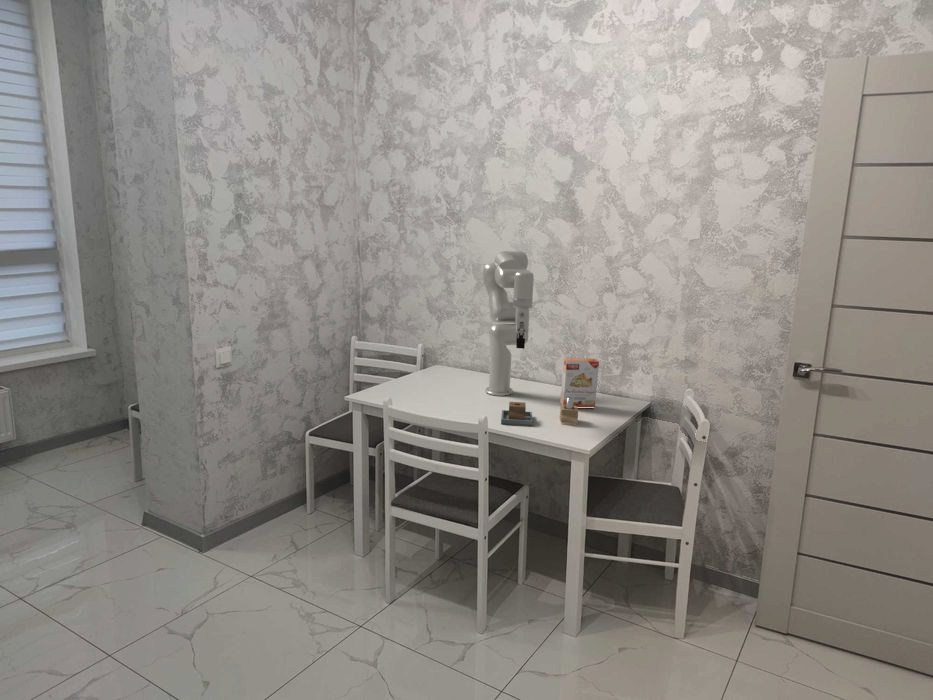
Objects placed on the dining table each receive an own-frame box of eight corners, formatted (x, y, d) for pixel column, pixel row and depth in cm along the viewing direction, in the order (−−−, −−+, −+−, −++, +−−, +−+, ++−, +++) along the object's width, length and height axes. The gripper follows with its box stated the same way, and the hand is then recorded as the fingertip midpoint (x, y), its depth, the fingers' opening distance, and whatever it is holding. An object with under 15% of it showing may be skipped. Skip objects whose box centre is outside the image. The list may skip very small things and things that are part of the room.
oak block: (559, 419, 257) (560, 404, 255) (575, 420, 256) (576, 405, 255) (560, 424, 250) (561, 409, 249) (577, 425, 250) (578, 410, 249)
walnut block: (508, 416, 256) (509, 401, 255) (524, 416, 256) (525, 402, 255) (508, 421, 250) (509, 406, 249) (524, 422, 250) (525, 407, 248)
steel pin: (565, 418, 254) (566, 396, 253) (571, 419, 254) (572, 397, 252) (565, 420, 252) (567, 398, 250) (571, 421, 252) (573, 399, 250)
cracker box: (563, 409, 270) (566, 360, 266) (559, 404, 276) (563, 357, 271) (595, 409, 271) (599, 361, 267) (591, 405, 277) (595, 358, 273)
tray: (501, 414, 259) (502, 410, 259) (531, 416, 258) (531, 411, 258) (501, 424, 247) (501, 419, 247) (532, 426, 247) (532, 421, 246)
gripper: (532, 306, 243) (530, 350, 247) (531, 300, 260) (529, 342, 264) (512, 305, 244) (510, 349, 247) (513, 300, 261) (511, 341, 264)
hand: (520, 345), depth 256 cm, fingers open, 9 cm apart
